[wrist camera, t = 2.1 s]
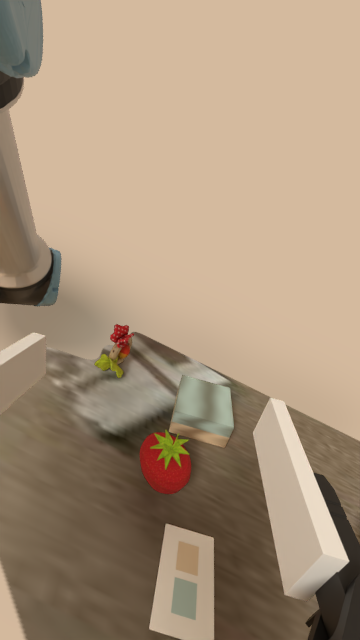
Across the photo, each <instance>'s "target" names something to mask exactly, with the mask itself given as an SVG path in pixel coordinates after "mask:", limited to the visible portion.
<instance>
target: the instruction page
mask: <svg viewBox="0 0 360 640" xmlns="http://www.w3.org/2000/svg"><path fill="white" fill-rule="evenodd" d="M149 629H150V630H153V631H156V632H159V633H162V634H165V635H169V636H172V637H175V638H178V639H181V640H214V538H213V537H210V536H206V535H203V534H200V533H196V532H193V531H190V530H186V529H183V528H180V527H176V526H173V525H170V524H166V525H165V532H164V538H163V544H162V551H161V557H160V563H159V569H158V576H157V582H156V588H155V595H154V601H153V607H152V613H151V620H150V626H149Z"/></svg>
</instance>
